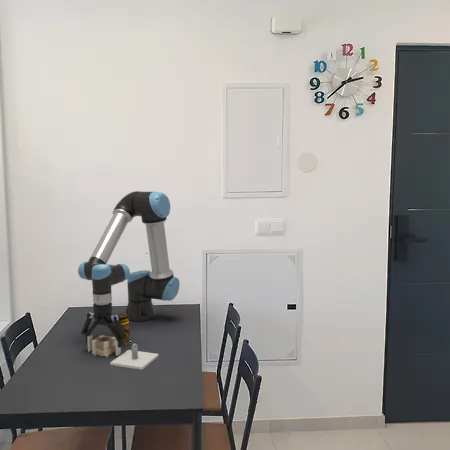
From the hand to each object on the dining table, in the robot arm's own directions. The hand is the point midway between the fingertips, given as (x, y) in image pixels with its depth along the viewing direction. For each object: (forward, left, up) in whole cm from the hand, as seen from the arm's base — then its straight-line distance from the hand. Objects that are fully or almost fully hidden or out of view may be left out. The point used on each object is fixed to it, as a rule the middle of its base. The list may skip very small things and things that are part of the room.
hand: (104, 352), depth 218 cm
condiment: (-13, 0, 0) cm, 13 cm away
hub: (+3, +16, 0) cm, 16 cm away
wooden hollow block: (0, 0, 0) cm, 0 cm away
